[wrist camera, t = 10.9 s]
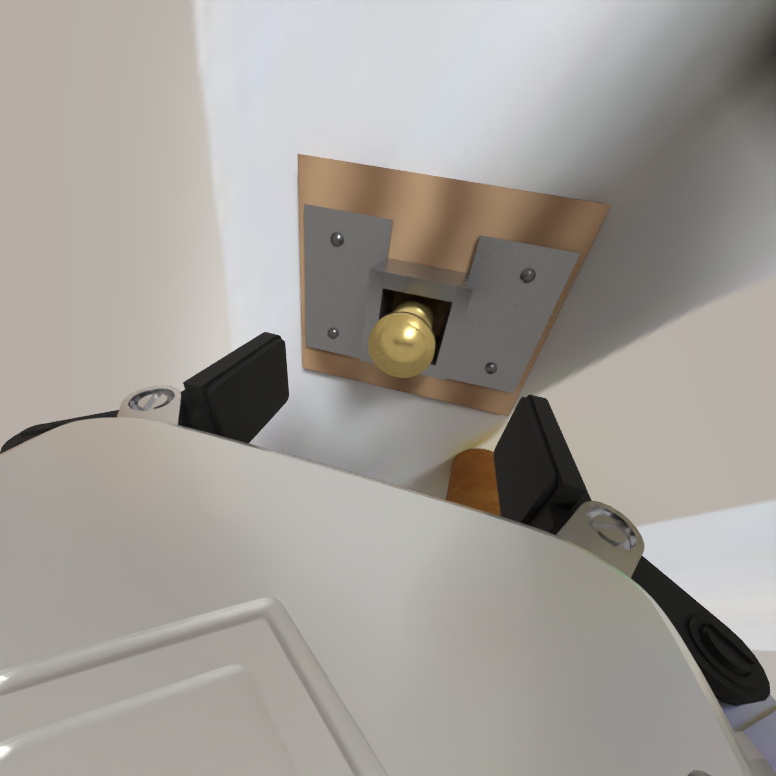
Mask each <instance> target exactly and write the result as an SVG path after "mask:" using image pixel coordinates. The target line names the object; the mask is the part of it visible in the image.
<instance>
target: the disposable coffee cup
mask: <svg viewBox="0 0 776 776" xmlns="http://www.w3.org/2000/svg"><path fill="white" fill-rule="evenodd" d="M446 500H448V501H451V502H455V503H458V504H461V505H465V506H468V507H471V508H475V509H478V510H481V511H485V512H488V513H491V514H495V515H498V516H501V513H500V505H499V497H498V489H497V481H496V472H495V464H494V452H492V451H489V450H486V449H470V450H466V451H464V452H462V453H460V454H459V455H457V456H456V457H455V459H454V460H453V464H452V470H451V475H450V480H449V486H448V492H447V497H446Z"/></svg>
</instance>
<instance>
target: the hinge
mask: <svg viewBox="0 0 776 776" xmlns="http://www.w3.org/2000/svg"><path fill="white" fill-rule="evenodd" d="M392 228H393V219H387V218H382V217H376V216H370V215H365V214H359V213H354V212H348V211H343V210H337V209H331V208H326V207H320V206H315V205H309V204H304V256H305V323H306V346H308V347H312V348H317V349H321V350H326V351H330V352H334V353H339V354H343V355H347V356H352V357H356V358H360V361H364V362H368V363H373V364H375V363H374V362H373V360H372V358H371V356H370V353H369V349H368V340H369V335H370V333H371V331H372V329H373V327H374V326H375V325H376V323H377V322H378V321H379V320H380V319H381V318H383V317H384V316H386V315H388V314H390V313H392V310H393V304H394V297H395V291H399V292H404V293H409V294H414V295H419V296H424V297H429V298H434V299H438V300H443V301H448V305H447V309H446V312H445V316H444V320H443V324H442V328H441V331H440V335H439V336H436V335H434V337H435V352H434V357H433V360H432V361H431V363H430V365H429V366H428V367H427V368H426V369H425V370H424V371H423V372H422V373H420V374H421V375H425V376H430V377H434V378H438V379H443V380H446V378H448V379H453V380H457V381H461V382H466V383H470V384H474V385H479V386H483V387H488V388H492V389H496V390H501V391H505V392H510V393H514V392H515V390H516V388H517V385H518V383H519V381H520V379H521V377H522V375H523V373H524V371H525V369H526V366H527V364H528V362H529V360H530V358H531V356H532V354H533V352H534V350H535V348H536V345H537V343H538V341H539V339H540V337H541V335H542V333H543V331H544V329H545V327H546V324H547V322H548V320H549V318H550V316H551V314H552V312H553V310H554V308H555V305H556V303H557V301H558V299H559V297H560V295H561V293H562V291H563V289H564V287H565V284H566V282H567V280H568V278H569V276H570V274H571V272H572V270H573V268H574V265H575V263H576V261H577V259H578V257H579V255H580V253H577V252H571V251H566V250H560V249H554V248H549V247H543V246H538V245H532V244H527V243H521V242H515V241H510V240H504V239H499V238H493V237H488V236H482V235H480V236H479V240H478V243H477V247H476V250H475V254H474V257H473V261H472V264H471V268H470V271H469V273H464V272H459V271H454V270H449V269H444V268H438V267H433V266H428V265H423V264H418V263H412V262H407V261H402V260H397V259H392V258H388V257H389V250H390V242H391V235H392Z"/></svg>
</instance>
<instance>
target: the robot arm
mask: <svg viewBox="0 0 776 776" xmlns="http://www.w3.org/2000/svg"><path fill="white" fill-rule="evenodd" d="M183 384H184V387H185V390H184V391H182V392H180V391H179V390H178V389H177V388H174V387H172V386H153V387H148V388H144V389H141V390H138V391H136V392H134V393H132V394H130V395H129V396H128V397H126V398H125V399H124V400H123V402H122V403H121V407H120V409H119V410H116V411H110V412H105V413H100V414H94V415H89V416H83V417H78V418H73V419H68V420H62V421H56V422H51V423H46V424H39V425H35V426H32V427H30V428H27V429H25V430H24V431H22V432H20V433H19V434H17V435H15V436H14V437H12V438H11V439H10V440H8V441H7V442H6V443H5V444H4V445H3V447H2V448H1V451H0V776H776V700H775V699H774V698H773V697H772V696H771V695H770V685H769V681H768V679H767V676H766V674H765V672H764V669H763V668H762V666H761V664H760V663H759V661H758V660H757V658H756V657H755V655H754V654H753V653H752V652H751V650H750V649H749V648H748V647H747V646H746V645H745V643H744V642H743V641H742V640H741V639H740V638H739V637H738V636H737V635H736V634H735V633H734V632H732V631H731V630H730V629H729V628H728V627H727V626H726V625H725V624H723V623H722V622H721V621H720V620H719V619H717V618H716V617H715V616H714V615H713V614H711V613H710V612H709V611H708V610H707V609H705V608H704V607H703V606H702V605H701V604H699V603H698V602H697V601H696V600H695V599H693V598H692V597H691V596H690V595H689V594H687V593H686V592H685V591H684V590H683V589H681V588H680V587H679V586H678V585H677V584H675V583H674V582H673V581H672V580H671V579H669V578H668V577H667V576H666V575H665V574H663V573H662V572H661V571H660V570H659V569H657V568H656V567H655V566H654V565H653V564H651V563H650V562H649V561H648V560H647V559H645V558H644V557H643V556H642V554H643V552H644V542H643V539H642V536H641V535H640V533H639V531H638V530H637V528H636V527H635V526H634V525H633V524H632V523H631V521H630V520H628V519H627V518H626V517H625V516H624V515H623V514H621V513H620V512H619V511H617V510H616V509H614V508H612V507H611V506H608V505H606V504H604V503H601V502H596V501H591V498H590V496H589V494H588V492H587V489H586V487H585V484H584V482H583V480H582V478H581V475H580V473H579V471H578V469H577V466H576V464H575V462H574V460H573V457H572V455H571V453H570V450H569V448H568V446H567V443H566V441H565V439H564V437H563V434H562V432H561V430H560V427H559V425H558V423H557V421H556V418H555V416H554V414H553V412H552V409H551V407H550V405H549V402H548V400H547V399H545V398H542V397H537V396H533V395H528V396H527V397H526V398H525V397H522V398H521V399H520V401H519V403H518V405H517V407H516V409H515V411H514V413H513V414H512V416H511V418H510V420H509V422H508V424H507V426H506V428H505V430H504V432H503V434H502V436H501V438H500V440H499V442H498V444H497V446H496V448H495V450H494V464H495V472H496V481H497V489H498V497H499V505H500V513H501V516H498V515H495V514H491V513H488V512H485V511H481V510H478V509H475V508H471V507H468V506H465V505H461V504H458V503H455V502H451V501H448V500H444V499H441V498H437V497H434V496H431V495H427V494H424V493H420V492H417V491H413V490H410V489H407V488H403V487H400V486H396V485H393V484H389V483H386V482H382V481H379V480H375V479H372V478H368V477H365V476H361V475H358V474H354V473H351V472H347V471H344V470H340V469H337V468H333V467H330V466H326V465H323V464H319V463H316V462H312V461H309V460H305V459H302V458H298V457H295V456H291V455H287V454H284V453H280V452H277V451H273V450H270V449H266V448H262V447H259V446H255V445H252V444H249V443H250V441H251V440H252V439H253V438H254V437H255V436H256V435H257V434H258V433H259V432H260V430H261V429H262V428H263V427H264V426H265V425H266V424H267V423H268V422H269V421H270V420H271V418H272V417H273V416H274V415H275V414H276V413H277V412H278V411H279V410H280V409H281V407H282V406H283V405H284V404H285V403H286V402H287V400H288V397H289V388H288V375H287V362H286V348H285V342H284V340H282V339H281V337H280V336H279V335H276V334H271V333H267V332H264V333H262V334H260V335H259V336H257V337H256V338H254V339H252V340H251V341H249V342H248V343H246V344H244V345H243V346H241V347H239V348H238V349H236V350H235V351H233V352H231V353H230V354H228V355H227V356H225V357H223V358H222V359H220V360H219V361H217V362H215V363H214V364H212V365H211V366H209V367H207V368H206V369H204V370H203V371H201V372H199V373H198V374H196V375H194V376H193V377H191V378H190V379H188V380H186V381H185V382H184V383H183Z"/></svg>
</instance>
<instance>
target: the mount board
mask: <svg viewBox="0 0 776 776" xmlns="http://www.w3.org/2000/svg"><path fill="white" fill-rule="evenodd" d="M298 190H299V233H300V277H301V320H302V364H303V368H306V369H310V370H314V371H318V372H323V373H327V374H331V375H335V376H340V377H344V378H348V379H352V380H356V381H361V382H365V383H369V384H373V385H378V386H382V387H386V388H390V389H395V390H399V391H403V392H407V393H412V394H416V395H420V396H424V397H428V398H433V399H437V400H441V401H445V402H450V403H454V404H458V405H462V406H467V407H471V408H475V409H479V410H484V411H488V412H492V413H496V414H500V415H505V416H508V415H509V413H510V411H511V409H512V407H513V405H514V403H515V401H516V399H517V397H518V395H519V393H520V391H521V389H522V387H523V385H524V383H525V381H526V379H527V376H528V374H529V372H530V370H531V368H532V366H533V364H534V362H535V360H536V358H537V356H538V354H539V352H540V350H541V348H542V346H543V344H544V342H545V340H546V338H547V335H548V333H549V331H550V329H551V327H552V325H553V323H554V321H555V319H556V317H557V315H558V313H559V311H560V309H561V307H562V305H563V303H564V301H565V299H566V297H567V295H568V292H569V290H570V288H571V286H572V284H573V282H574V280H575V278H576V276H577V274H578V272H579V270H580V268H581V266H582V264H583V262H584V260H585V258H586V256H587V254H588V252H589V249H590V247H591V245H592V243H593V241H594V239H595V237H596V235H597V233H598V231H599V229H600V227H601V225H602V223H603V221H604V219H605V217H606V215H607V213H608V211H609V209H610V206H611V205H609V204H603V203H597V202H591V201H585V200H578V199H572V198H566V197H560V196H554V195H548V194H541V193H535V192H529V191H523V190H517V189H511V188H505V187H498V186H492V185H486V184H480V183H474V182H468V181H462V180H455V179H449V178H443V177H437V176H431V175H425V174H419V173H412V172H406V171H400V170H394V169H388V168H382V167H375V166H369V165H363V164H357V163H351V162H345V161H339V160H332V159H326V158H320V157H314V156H308V155H302V154H298ZM304 204H309V205H315V206H320V207H326V208H331V209H337V210H343V211H348V212H354V213H359V214H365V215H370V216H376V217H382V218H387V219H393V228H392V235H391V242H390V250H389V257H388V258H392V259H397V260H402V261H407V262H412V263H418V264H423V265H428V266H433V267H438V268H444V269H449V270H454V271H459V272H464V273H469V271H470V268H471V264H472V261H473V257H474V254H475V250H476V247H477V243H478V240H479V236H480V235H482V236H488V237H493V238H499V239H504V240H510V241H515V242H521V243H527V244H532V245H538V246H543V247H549V248H554V249H560V250H566V251H571V252H577V253H580V255H579V257H578V259H577V261H576V263H575V265H574V268H573V270H572V272H571V274H570V276H569V278H568V280H567V282H566V284H565V287H564V289H563V291H562V293H561V295H560V297H559V299H558V301H557V303H556V305H555V308H554V310H553V312H552V314H551V316H550V318H549V320H548V322H547V324H546V327H545V329H544V331H543V333H542V335H541V337H540V339H539V341H538V343H537V345H536V348H535V350H534V352H533V354H532V356H531V358H530V360H529V362H528V364H527V366H526V369H525V371H524V373H523V375H522V377H521V379H520V381H519V383H518V385H517V388H516V390H515V392H514V393H510V392H505V391H501V390H496V389H492V388H488V387H483V386H479V385H474V384H470V383H466V382H461V381H457V380H453V379H448V378H446V380H443V379H438V378H434V377H430V376H425V375H421V374H418V375H416V376H413V377H409V378H398V377H394V376H391V375H388V374H386V373H384V372H383V371H382V370H380V369H379V368H378V367H377V366H376V365H375V364H373V363H368V362H364V361H360V358H356V357H352V356H347V355H343V354H339V353H334V352H330V351H326V350H321V349H317V348H312V347H308V346H306V323H305V256H304ZM405 294H406V293H404V292H399V291H395V297H394V304H393V310H392V313H393V312H394V310H395V309H396V307H397V306H398V304H399V303H400V302H401V300H402V299H403V297H404V296H405ZM436 301H437V308H436V313H435V318H434V322H433V327H432V331H433V333H434V335H436V336H439V335H440V331H441V328H442V324H443V320H444V316H445V312H446V309H447V305H448V301H443V300H438V299H436Z"/></svg>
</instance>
